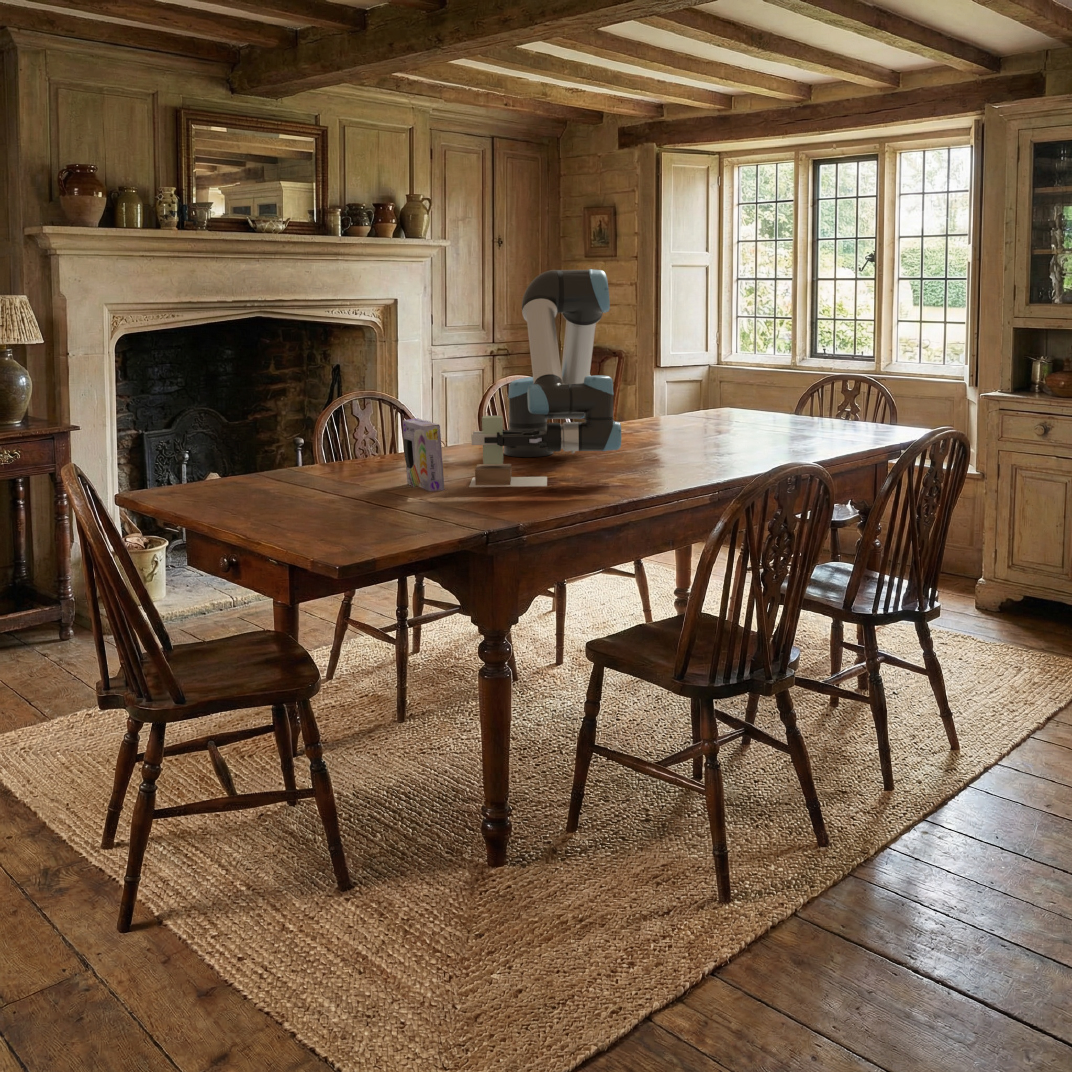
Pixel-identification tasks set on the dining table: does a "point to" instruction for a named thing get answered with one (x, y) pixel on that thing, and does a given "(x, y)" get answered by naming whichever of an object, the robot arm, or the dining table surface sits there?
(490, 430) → the pillar
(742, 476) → the dining table surface
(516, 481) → the build board
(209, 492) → the dining table surface
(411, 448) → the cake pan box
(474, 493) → the dining table surface
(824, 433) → the dining table surface
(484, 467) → the base block
